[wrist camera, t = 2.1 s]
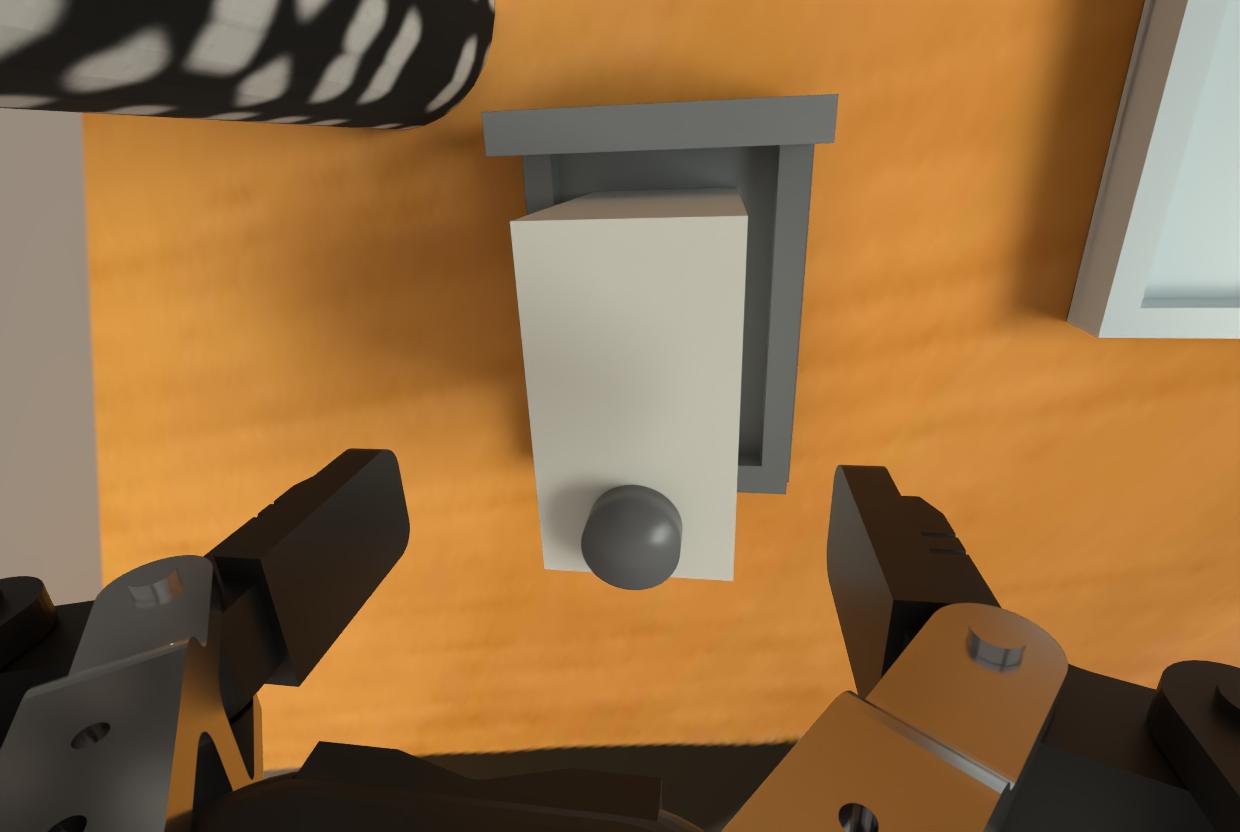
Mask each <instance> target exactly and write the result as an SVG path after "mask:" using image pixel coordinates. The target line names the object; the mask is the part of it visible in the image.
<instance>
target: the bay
mask: <svg viewBox="0 0 1240 832" xmlns="http://www.w3.org/2000/svg"><path fill="white" fill-rule="evenodd" d="M837 105H838V94H827V95H807V96H787V97H768V98H748V99H728V100H709V101H689V102H669V103H649V104H630V105H610V106H590V107H570V108H551V109H531V110H511V111H492V112H481V113H482V122H483V131H484V140H485V150H486V157H488V156H515V155H522V164H523V175H524V186H525V197H526V208H527V215H529V214H532V213H535V212H538V211H541V210H544V209H547V208H550V207H553V206H555V205H558V204H561V203H564V202H567V201H570V200H573V199H576V198H578V197H581V196H584V195H587V194H590V193H593V192H602V191H635V190H669V189H702V188H735V187H737V189H738V192H739V194H740V197H741V199H742V202H743V204H744V207H745V209H746V212H747V215H748V227H747V252H746V276H745V301H744V325H743V350H742V375H741V399H740V424H739V448H738V473H737V492H745V493H769V494H786V485H787V482H789V470H790V457H791V444H792V431H793V418H794V405H795V392H796V379H797V366H798V353H799V340H800V327H801V314H802V301H803V288H804V275H805V262H806V249H807V236H808V223H809V209H810V196H811V183H812V170H813V157H814V144H819V143H834V139H835V128H836V117H837Z"/></svg>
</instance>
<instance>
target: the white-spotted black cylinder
mask: <svg viewBox="0 0 1240 832" xmlns="http://www.w3.org/2000/svg"><path fill="white" fill-rule="evenodd" d="M494 17H495V4H494V0H0V108H12V109H30V110H49V111H66V112H84V113H102V114H119V115H137V116H155V117H173V118H191V119H209V120H227V121H245V122H263V123H281V124H299V125H316V126H334V127H352V128H370V129H394V130H406V129H411V128H415V127H420V126H425V125H427V124H429V123H431V122H433V121H435V120H437V119H439V118H441V117H443V116H445V115H446V114H447V113H448V112H449V111H451V110H452V109H453V108H454V107H456V106H457V105H458V104H459V103H460V102H461V101H462V100H463V98H464V97H465V96H466V95H467V93H468V92H469V91H470V90H471V88H472V87H473V86H474V84H475V82H476V80H477V78H478V76H479V74H480V72H481V70H482V68H483V66H484V65H485V61H486V58H487V55H488V51H489V48H490V44H491V41H492V34H493V25H494Z"/></svg>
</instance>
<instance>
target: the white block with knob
mask: <svg viewBox="0 0 1240 832" xmlns="http://www.w3.org/2000/svg"><path fill="white" fill-rule="evenodd" d="M747 227H748V215H747V212H746V209H745V207H744V204H743V202H742V199H741V197H740V194H739V192H738V189H737V187H735V188H702V189H669V190H635V191H602V192H593V193H590V194H587V195H584V196H581V197H578V198H576V199H573V200H570V201H567V202H564V203H561V204H558V205H555V206H553V207H550V208H547V209H544V210H541V211H538V212H535V213H532V214H529V215H527V216H524V217H521V218H518V219H515V220H512V221H510V228H511V238H512V248H513V258H514V268H515V278H516V288H517V298H518V308H519V318H520V328H521V338H522V348H523V358H524V368H525V378H526V388H527V398H528V408H529V418H530V428H531V438H532V448H533V458H534V468H535V478H536V488H537V498H538V508H539V518H540V528H541V538H542V548H543V558H544V568H545V569H550V570H566V571H582V572H593V573H594V574H595V575H596V576H597V577H599V578H600V579H601V580H603V581H605V582H606V583H608V584H610V585H612V586H615V587H618V588H622V589H628V590H643V589H648V588H652V587H655V586H657V585H659V584H661V583H663V582H664V581H666V580H667V579H668V578H669V577H679V578H695V579H711V580H727V581H733V571H734V546H735V522H736V497H737V473H738V448H739V424H740V399H741V375H742V350H743V325H744V301H745V276H746V252H747Z"/></svg>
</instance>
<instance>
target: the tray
mask: <svg viewBox="0 0 1240 832" xmlns="http://www.w3.org/2000/svg"><path fill="white" fill-rule="evenodd" d="M1067 322H1068V323H1070V324H1072V325H1074V326H1076V327H1078V328H1080V329H1082V330H1084V331H1086V332H1088V333H1090V334H1092V335H1094V336H1096V337H1098V338H1240V0H1145V3H1144V7H1143V11H1142V15H1141V19H1140V23H1139V28H1138V32H1137V36H1136V40H1135V44H1134V48H1133V52H1132V56H1131V60H1130V64H1129V69H1128V73H1127V77H1126V81H1125V85H1124V89H1123V93H1122V97H1121V101H1120V105H1119V109H1118V114H1117V118H1116V122H1115V126H1114V130H1113V134H1112V138H1111V142H1110V146H1109V150H1108V155H1107V159H1106V163H1105V167H1104V171H1103V175H1102V179H1101V183H1100V187H1099V191H1098V196H1097V200H1096V204H1095V208H1094V212H1093V216H1092V220H1091V224H1090V228H1089V232H1088V236H1087V241H1086V245H1085V249H1084V253H1083V257H1082V261H1081V265H1080V269H1079V273H1078V277H1077V282H1076V286H1075V290H1074V294H1073V298H1072V302H1071V306H1070V310H1069V314H1068V318H1067Z"/></svg>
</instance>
